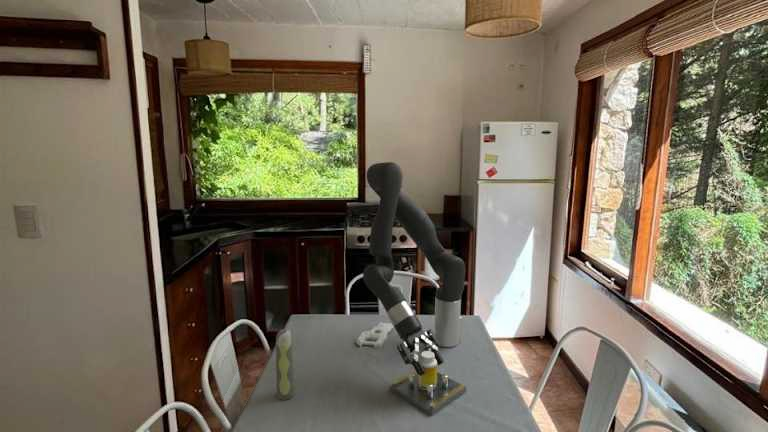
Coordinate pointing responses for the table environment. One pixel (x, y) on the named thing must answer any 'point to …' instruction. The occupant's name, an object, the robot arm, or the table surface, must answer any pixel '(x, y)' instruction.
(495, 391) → the table surface
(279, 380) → the tall green-filled container
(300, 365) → the table surface
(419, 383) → the supplement bottle
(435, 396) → the grey peg fixture plate
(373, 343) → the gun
